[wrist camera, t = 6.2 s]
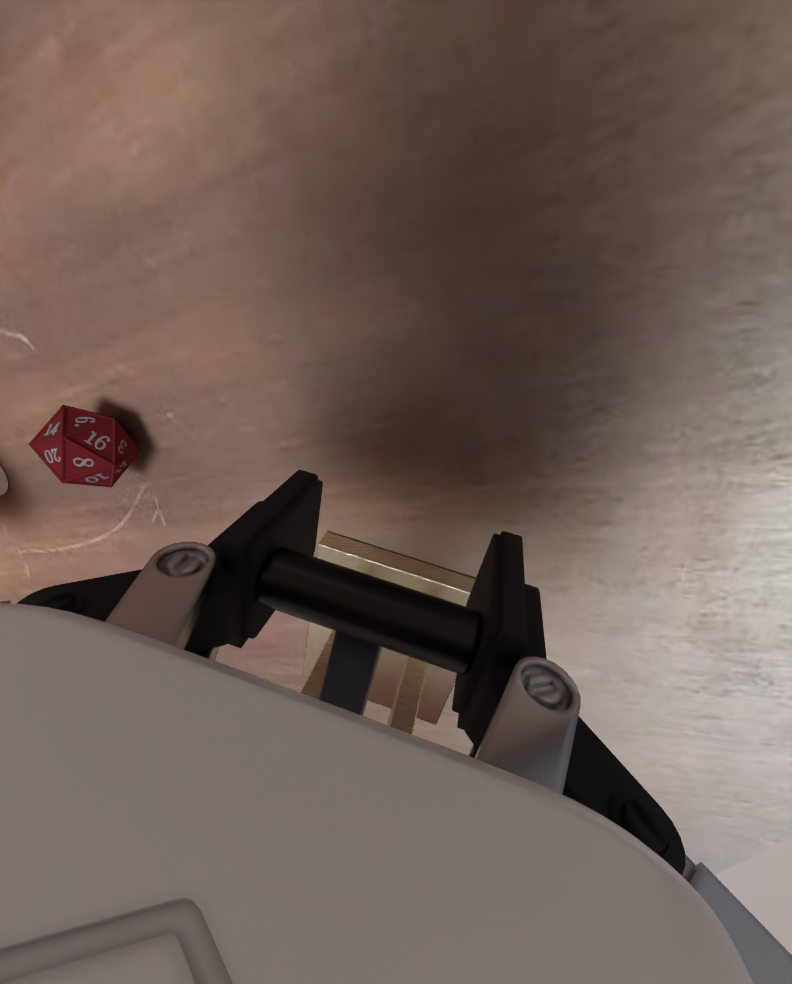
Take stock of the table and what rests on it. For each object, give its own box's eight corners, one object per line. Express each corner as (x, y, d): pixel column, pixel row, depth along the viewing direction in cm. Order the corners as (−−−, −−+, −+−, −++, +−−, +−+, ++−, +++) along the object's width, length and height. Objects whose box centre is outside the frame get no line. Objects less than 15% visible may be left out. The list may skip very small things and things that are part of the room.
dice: (125, 387, 20) (47, 409, 17) (166, 467, 22) (103, 501, 19) (75, 401, 22) (-7, 424, 18) (118, 475, 23) (50, 509, 20)
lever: (297, 532, 11) (248, 568, 8) (480, 591, 10) (482, 647, 8) (225, 890, 14) (178, 982, 12) (356, 948, 14) (333, 1058, 11)
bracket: (327, 531, 21) (63, 893, 9) (491, 583, 20) (462, 1082, 8) (310, 661, 27) (132, 1000, 14) (438, 707, 26) (371, 1118, 13)
